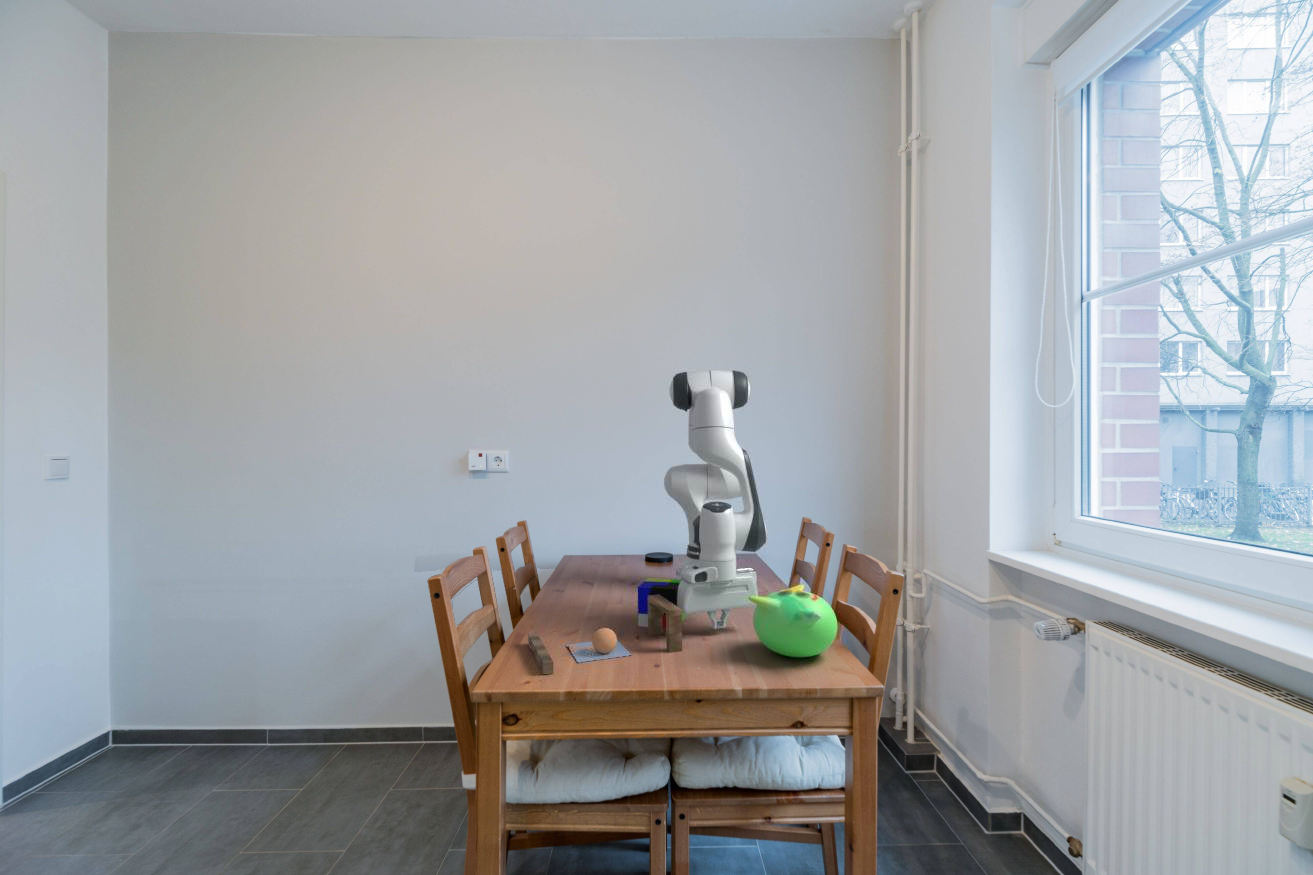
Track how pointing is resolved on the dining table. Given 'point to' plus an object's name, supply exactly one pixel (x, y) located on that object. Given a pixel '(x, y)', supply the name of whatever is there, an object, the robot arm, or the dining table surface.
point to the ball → (604, 640)
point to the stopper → (540, 653)
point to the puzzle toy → (656, 587)
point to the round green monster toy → (794, 622)
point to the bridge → (672, 621)
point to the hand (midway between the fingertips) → (718, 627)
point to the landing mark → (583, 657)
